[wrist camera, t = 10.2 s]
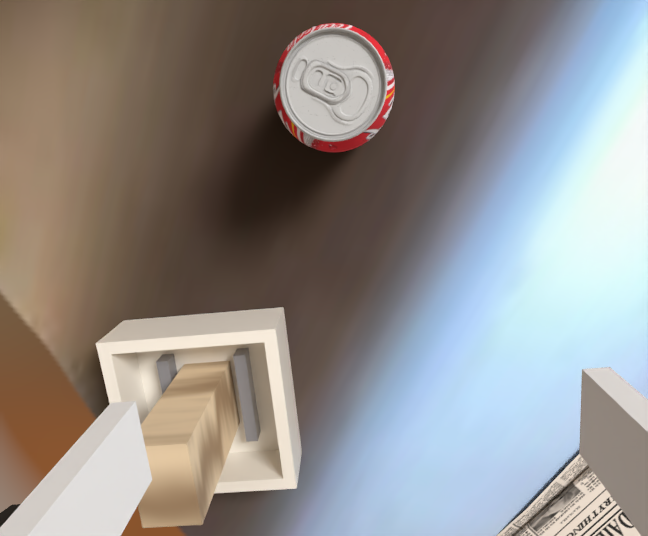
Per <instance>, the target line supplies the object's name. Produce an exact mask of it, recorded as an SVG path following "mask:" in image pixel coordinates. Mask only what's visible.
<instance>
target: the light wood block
mask: <svg viewBox="0 0 648 536" xmlns="http://www.w3.org/2000/svg"><path fill="white" fill-rule="evenodd" d="M239 424H240V420H239V414H238V408H237V401H236V395H235V389H234V383H233V376H232V370H231V364H230V361H218V362H205V363H192V364H184V365H183V367H182V368H181V369H180V371H179V372H178V374H177V375H176V376H175V378H174V379H173V381H172V382H171V384H170V385H169V386H168V388H167V389H166V391H165V392H164V393H163V395H162V396H161V398H160V399H159V400H158V402H157V403H156V405H155V406H154V407H153V409H152V410H151V412H150V413H149V414H148V416H147V417H146V419H145V420H144V421H143V423H142V424H141V429H142V434H143V438H144V443H145V448H146V452H147V457H148V462H149V466H150V471H151V476H152V481H151V483H150V485H149V486H148V488H147V490H146V492H145V493H144V495H143V497H142V499H141V500H140V502H139V504H138V509H139V514H140V518H141V523H142V527H143V528H149V527H167V526H186V525H202V524H203V522H204V519H205V516H206V513H207V511H208V508H209V505H210V503H211V500H212V497H213V494H214V492H215V489H216V486H217V484H218V481H219V478H220V475H221V473H222V470H223V467H224V465H225V462H226V459H227V456H228V454H229V451H230V448H231V446H232V443H233V440H234V437H235V435H236V432H237V429H238V427H239Z"/></svg>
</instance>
